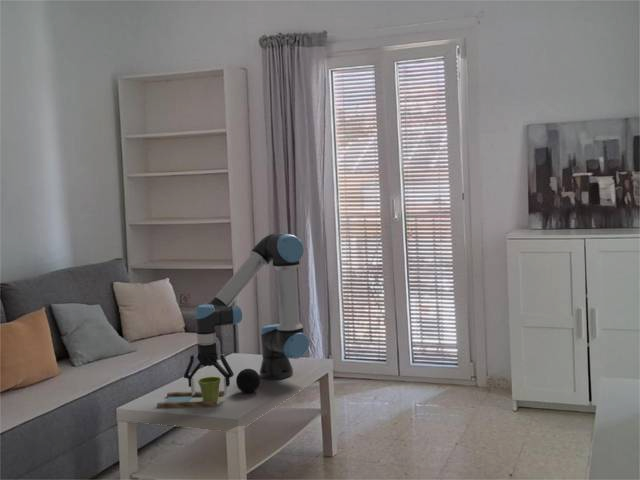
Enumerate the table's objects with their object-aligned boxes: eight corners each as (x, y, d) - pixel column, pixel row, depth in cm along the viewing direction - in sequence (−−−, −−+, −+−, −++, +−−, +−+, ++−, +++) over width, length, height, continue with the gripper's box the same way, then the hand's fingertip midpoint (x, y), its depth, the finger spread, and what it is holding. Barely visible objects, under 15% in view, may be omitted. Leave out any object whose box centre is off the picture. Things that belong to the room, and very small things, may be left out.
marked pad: (192, 397, 306) (192, 396, 306) (185, 404, 296) (185, 403, 296) (168, 397, 307) (168, 397, 307) (161, 405, 297) (161, 404, 297)
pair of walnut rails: (224, 394, 308) (224, 390, 308) (215, 406, 292) (215, 402, 292) (168, 395, 310) (168, 392, 310) (157, 407, 294) (156, 404, 294)
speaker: (265, 390, 311) (264, 367, 310) (251, 397, 302) (249, 373, 301) (246, 387, 316) (245, 365, 315) (232, 394, 308) (230, 370, 307)
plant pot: (194, 401, 300) (193, 380, 300) (213, 395, 307) (211, 375, 306) (208, 405, 294) (206, 384, 293) (226, 399, 300) (225, 378, 300)
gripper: (238, 340, 301) (241, 391, 303) (179, 341, 303) (182, 392, 305) (235, 344, 294) (238, 396, 295) (174, 345, 296) (177, 397, 297)
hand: (209, 394), depth 300 cm, fingers open, 13 cm apart
